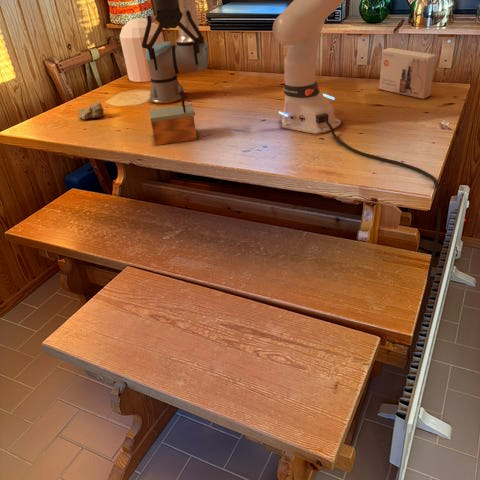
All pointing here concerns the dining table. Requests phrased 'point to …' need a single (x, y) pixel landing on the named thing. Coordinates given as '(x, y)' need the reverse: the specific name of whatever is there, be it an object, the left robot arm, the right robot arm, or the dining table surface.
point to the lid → (173, 110)
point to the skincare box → (407, 72)
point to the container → (137, 48)
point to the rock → (92, 112)
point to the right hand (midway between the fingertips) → (213, 7)
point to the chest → (174, 130)
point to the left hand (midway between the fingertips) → (176, 66)
